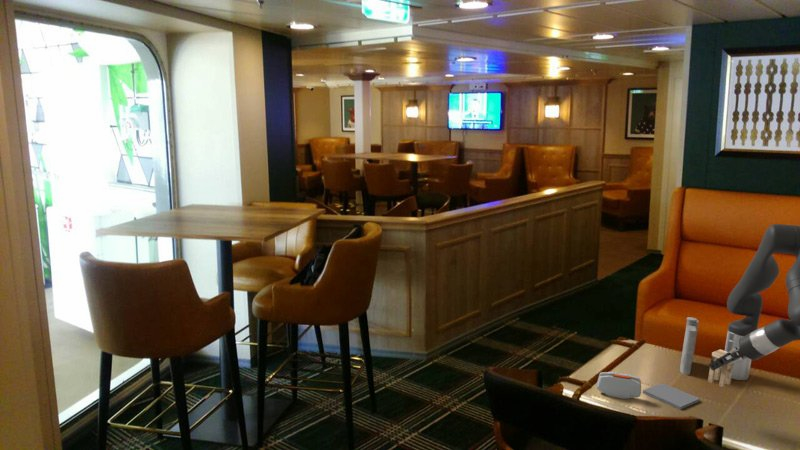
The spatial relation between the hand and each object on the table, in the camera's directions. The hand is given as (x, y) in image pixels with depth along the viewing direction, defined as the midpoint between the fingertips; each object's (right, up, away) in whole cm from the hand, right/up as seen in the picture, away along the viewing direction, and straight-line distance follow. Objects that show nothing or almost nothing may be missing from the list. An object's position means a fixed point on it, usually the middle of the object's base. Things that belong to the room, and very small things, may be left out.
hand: (715, 365), depth 200 cm
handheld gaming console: (-26, -14, +14) cm, 33 cm away
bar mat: (-8, -14, +16) cm, 23 cm away
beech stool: (+1, -5, 0) cm, 6 cm away
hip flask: (+10, -11, +43) cm, 45 cm away
